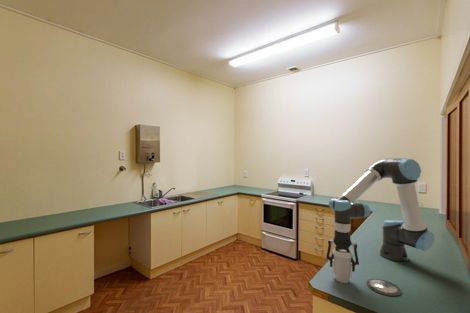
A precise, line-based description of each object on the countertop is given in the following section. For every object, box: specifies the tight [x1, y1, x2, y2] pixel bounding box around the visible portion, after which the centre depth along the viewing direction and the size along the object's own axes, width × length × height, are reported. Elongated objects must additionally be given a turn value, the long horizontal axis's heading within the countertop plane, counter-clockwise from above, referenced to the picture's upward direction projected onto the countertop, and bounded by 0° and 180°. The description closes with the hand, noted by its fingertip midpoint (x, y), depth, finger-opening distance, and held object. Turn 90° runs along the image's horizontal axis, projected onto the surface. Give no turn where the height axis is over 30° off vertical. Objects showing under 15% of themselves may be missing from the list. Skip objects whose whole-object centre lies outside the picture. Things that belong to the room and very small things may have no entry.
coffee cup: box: [331, 247, 354, 284], centre depth 116 cm, size 10×10×15 cm
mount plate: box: [366, 278, 402, 297], centre depth 109 cm, size 14×14×1 cm
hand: (342, 275), depth 116 cm, fingers closed on coffee cup, 8 cm apart
